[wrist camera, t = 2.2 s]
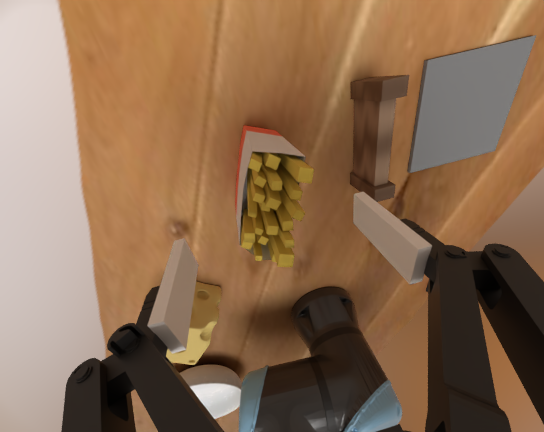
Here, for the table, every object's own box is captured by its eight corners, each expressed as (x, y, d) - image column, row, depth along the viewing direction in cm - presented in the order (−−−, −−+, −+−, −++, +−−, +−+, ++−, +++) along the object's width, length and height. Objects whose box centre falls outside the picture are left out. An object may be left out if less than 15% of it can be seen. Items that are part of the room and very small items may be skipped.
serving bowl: (166, 398, 62) (160, 431, 56) (156, 358, 52) (147, 392, 46) (241, 387, 66) (242, 416, 60) (244, 347, 56) (247, 377, 50)
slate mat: (491, 149, 39) (494, 150, 38) (407, 171, 38) (410, 172, 37) (531, 36, 30) (536, 35, 30) (424, 60, 29) (428, 60, 29)
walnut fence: (367, 179, 37) (393, 197, 31) (350, 184, 37) (374, 202, 31) (371, 77, 29) (409, 74, 23) (350, 82, 29) (382, 81, 23)
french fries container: (232, 195, 34) (237, 283, 19) (239, 121, 29) (255, 160, 14) (260, 198, 35) (287, 282, 20) (272, 127, 30) (321, 169, 15)
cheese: (221, 285, 44) (221, 333, 35) (200, 318, 47) (194, 369, 39) (168, 271, 39) (152, 321, 31) (149, 308, 43) (130, 363, 35)
